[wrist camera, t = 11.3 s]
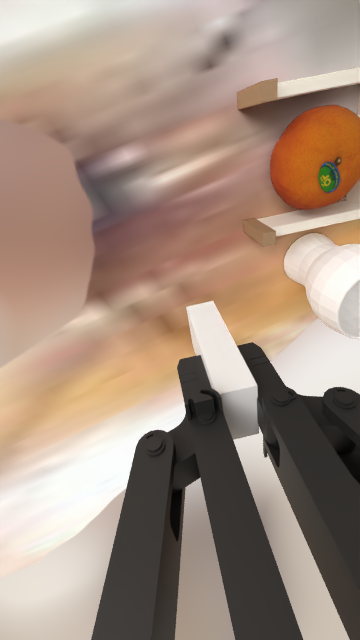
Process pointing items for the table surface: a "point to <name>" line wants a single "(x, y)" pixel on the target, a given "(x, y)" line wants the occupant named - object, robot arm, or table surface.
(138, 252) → the table surface
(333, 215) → the frame
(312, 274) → the cup
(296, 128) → the fruit
